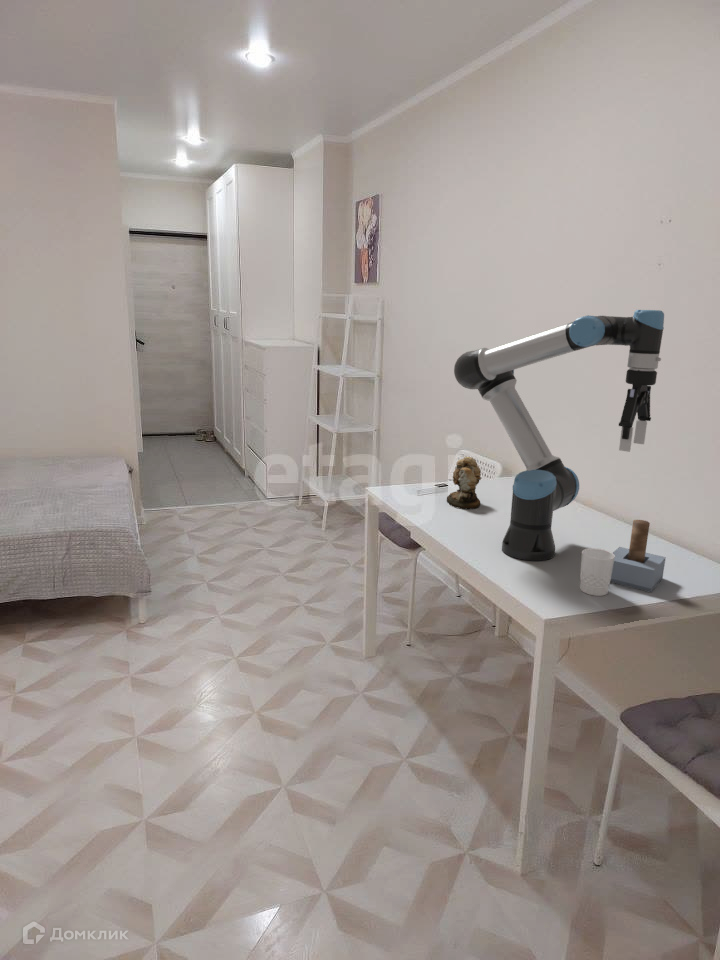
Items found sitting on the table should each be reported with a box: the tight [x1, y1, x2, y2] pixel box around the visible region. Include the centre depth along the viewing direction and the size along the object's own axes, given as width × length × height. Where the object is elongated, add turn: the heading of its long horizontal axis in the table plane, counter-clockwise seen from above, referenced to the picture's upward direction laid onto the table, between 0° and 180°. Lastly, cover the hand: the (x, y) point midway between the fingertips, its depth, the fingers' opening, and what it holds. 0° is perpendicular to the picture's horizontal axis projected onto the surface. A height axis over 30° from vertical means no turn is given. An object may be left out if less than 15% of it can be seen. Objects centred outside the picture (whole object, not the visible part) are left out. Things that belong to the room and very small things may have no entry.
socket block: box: [610, 546, 666, 593], centre depth 178 cm, size 12×12×6 cm
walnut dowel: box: [628, 519, 650, 563], centre depth 176 cm, size 4×4×15 cm
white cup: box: [579, 547, 615, 597], centre depth 169 cm, size 8×8×10 cm
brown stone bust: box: [446, 456, 482, 510], centre depth 242 cm, size 18×12×17 cm, turn 6°
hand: (631, 447), depth 185 cm, fingers open, 13 cm apart
